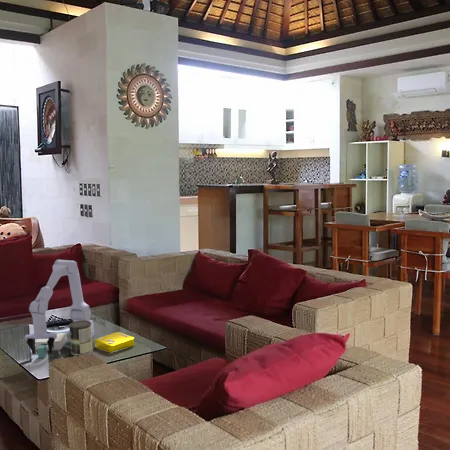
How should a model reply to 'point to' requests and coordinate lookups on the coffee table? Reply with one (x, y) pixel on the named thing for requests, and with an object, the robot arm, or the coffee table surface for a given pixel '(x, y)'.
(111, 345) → the element tile
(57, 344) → the housing
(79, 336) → the coffee can
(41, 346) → the block
